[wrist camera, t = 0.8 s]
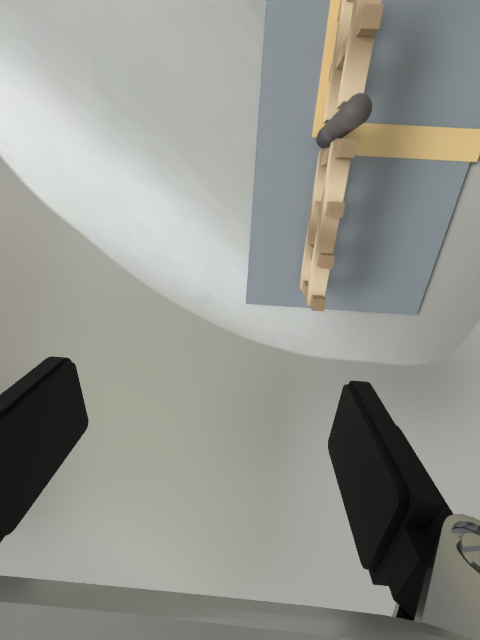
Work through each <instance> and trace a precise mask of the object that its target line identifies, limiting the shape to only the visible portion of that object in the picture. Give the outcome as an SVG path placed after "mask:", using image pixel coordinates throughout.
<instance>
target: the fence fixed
mask: <svg viewBox="0 0 480 640" xmlns="http://www.w3.org/2000/svg"><path fill="white" fill-rule="evenodd" d="M381 1H382V0H341V1H340V6H339V13H338V19H337V21H338V27H337V34H336V41H335V47H334V54H333V61H332V64H331V67H330V74H329V80H328V81H329V88H328V94H327V101H326V108H325V115H324V121H323V124H325V125H324V126H323V128H322V129H321V130H320V131H319V132H318V134H317V137H316V142H317V144H318V146H319V147H320V148H323V149H324V148H328V147H330V145H331V142H333V141H334V140H335V139H337V138H343V137H344V136H346V135H347V134H349V133H350V132H352V131H353V130H354V129H356V128H357V127H359V126H360V125H362V124H363V123H364V122H366V121H367V119H368V118H369V116H370V114H371V111H372V102H371V99H370V97H369V96H368V95H366V94H364V89H365V84H366V79H367V74H368V68H369V63H370V58H371V53H372V48H373V42H374V37H375V34H376V32H377V31H378V30H379V27H380V21H381V16H382V11H383V6H384V4H381Z"/></svg>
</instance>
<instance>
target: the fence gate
mask: <svg viewBox="0 0 480 640" xmlns="http://www.w3.org/2000/svg"><path fill="white" fill-rule="evenodd" d="M357 142H358V140H355V139H342V138H337V139H335V140H334V141H333V142H331V145H330V148H328V149H322V150H320V151H319V155H318V161H317V167H316V175H315V182H314V189H313V195H312V201H311V208H310V215H309V222H308V229H307V236H306V241H305V248H304V256H303V262H302V269H301V276H300V282H299V288H300V290H302V292H303V294H304V296H305V298H306V299H305V300H306V302H307V304H308V306H310V307H311V309H312V310H315V311H324V310H325V305H326V298H325V292H326V287H327V282H328V277H329V271H330V269H333V264H334V259H335V256H334V255H333V250H334V245H335V240H336V235H337V230H338V224H339V219H340V218H343V213H344V208H345V203H346V202H343V198H344V193H345V188H346V183H347V178H348V172H349V167H350V162H351V159H352V158H354V157H355V152H356V147H357Z"/></svg>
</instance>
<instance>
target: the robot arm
mask: <svg viewBox="0 0 480 640" xmlns="http://www.w3.org/2000/svg"><path fill="white" fill-rule="evenodd" d="M87 426H88V416H87V412H86V408H85V404H84V399H83V395H82V391H81V387H80V382H79V378H78V374H77V369H76V366H75V364H74V363H72V362H71V360H70V359H69V358H63V357H48V358H47V359H45V360H44V361H43V362H41V363H40V364H39V365H38V366H36V367H35V368H34V369H33V370H31V371H30V372H29V373H28V374H26V375H25V376H24V377H22V378H21V379H20V380H19V381H17V382H16V383H15V384H14V385H12V386H11V387H10V388H8V389H7V390H6V391H4V392H3V393H2V394H1V395H0V542H1V541H2V540H3V538H4V537H5V536H6V535H8V534H10V533H11V532H12V531H13V530H14V529H15V528H16V527H17V525H18V524H19V522H20V521H21V520H22V518H23V517H24V516H25V514H26V513H27V511H28V510H29V509H30V507H31V506H32V505H33V503H34V502H35V500H36V499H37V498H38V496H39V495H40V493H41V492H42V490H43V489H44V488H45V486H46V485H47V484H48V482H49V481H50V479H51V478H52V477H53V475H54V474H55V473H56V471H57V470H58V468H59V467H60V466H61V464H62V463H63V461H64V460H65V459H66V457H67V456H68V454H69V453H70V452H71V450H72V449H73V448H74V446H75V445H76V443H77V442H78V440H79V439H80V438H81V436H82V435H83V434H84V432H85V431H86V429H87ZM328 449H329V454H330V458H331V461H332V464H333V468H334V471H335V475H336V478H337V482H338V485H339V489H340V492H341V495H342V499H343V503H344V506H345V510H346V513H347V516H348V520H349V524H350V527H351V530H352V534H353V537H354V541H355V544H356V548H357V551H358V555H359V558H360V561H361V564H362V566H363V568H364V569H368V570H369V573H370V576H371V579H372V582H373V584H374V585H384V586H389V588H390V591H391V594H392V597H393V599H394V601H395V602H396V605H395V608H394V612H393V615H392V617H389V616H385V615H377V614H370V613H361V612H354V611H345V610H338V609H329V608H322V607H313V606H305V605H295V604H285V603H276V602H275V603H274V602H266V601H255V600H246V599H237V598H227V597H217V596H207V595H198V594H188V593H177V592H167V591H157V590H146V589H137V588H126V587H116V586H106V585H95V584H85V583H74V582H64V581H53V580H42V579H31V578H20V577H9V576H0V640H480V521H479V520H477V519H475V518H473V517H470V516H467V515H463V514H453V513H452V511H451V510H450V508H449V507H448V505H447V503H446V502H445V500H444V498H443V497H442V495H441V494H440V492H439V490H438V489H437V487H436V486H435V484H434V482H433V481H432V479H431V478H430V476H429V475H428V473H427V471H426V469H425V468H424V466H423V465H422V463H421V461H420V460H419V458H418V457H417V455H416V453H415V452H414V450H413V449H412V447H411V445H410V444H409V442H408V441H407V439H406V437H405V436H404V434H403V433H402V431H401V430H400V428H399V427H398V426H396V425H395V423H394V421H393V420H392V418H391V417H390V415H389V413H388V412H387V410H386V409H385V407H384V405H383V404H382V402H381V400H380V399H379V397H378V395H377V394H376V392H375V390H374V389H373V387H372V386H371V384H370V383H369V382H362V381H350V382H349V384H348V385H344V386H343V389H342V393H341V397H340V400H339V404H338V408H337V412H336V415H335V419H334V422H333V426H332V429H331V433H330V437H329V440H328Z"/></svg>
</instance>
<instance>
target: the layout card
mask: <svg viewBox="0 0 480 640" xmlns="http://www.w3.org/2000/svg"><path fill="white" fill-rule="evenodd" d="M340 1H341V0H266V14H265V29H264V44H263V59H262V74H261V89H260V103H259V118H258V133H257V148H256V163H255V178H254V192H253V207H252V222H251V237H250V252H249V267H248V281H247V296H246V304H261V305H275V306H290V307H305V308H311V307H310V306H308V304H307V302H306V300H305V299H306V298H305V296H304V294H303V292H302V290H300V288H299V282H300V276H301V269H302V262H303V256H304V248H305V241H306V236H307V229H308V222H309V215H310V208H311V201H312V195H313V189H314V182H315V175H316V167H317V161H318V155H319V151H320V150H322V149H323V148H320V147H319V146H318V144H317V142H316V137H317V134H318V132H319V131H320V130H321V129H322V128H323V126H324V125H325V124H323V121H324V115H325V108H326V101H327V94H328V88H329V81H328V80H329V74H330V67H331V64H332V61H333V54H334V47H335V41H336V34H337V27H338V21H337V19H338V13H339V6H340ZM381 4H384V6H383V11H382V16H381V21H380V27H379V30H378V31H377V32H376V34H375V37H374V42H373V48H372V53H371V58H370V63H369V68H368V74H367V79H366V84H365V89H364V94H366V95H368V96H369V97H370V99H371V102H372V111H371V114H370V116H369V118H368V119H367V121H366V122H364V123H363V124H362V125H360V126H359V127H357V128H356V129H354V130H353V131H352V132H350V133H349V134H347V135H346V136H344V137H343V138H342V139H355V140H358V142H357V147H356V152H355V157H354V158H352V159H351V162H350V167H349V172H348V178H347V183H346V188H345V193H344V198H343V202H346V203H345V208H344V213H343V218H340V219H339V224H338V230H337V235H336V240H335V245H334V250H333V255H334V256H335V259H334V264H333V269H330V271H329V277H328V282H327V287H326V292H325V298H326V305H325V309H334V310H348V311H363V312H377V313H392V314H407V315H417V313H418V310H419V307H420V305H421V302H422V299H423V296H424V293H425V290H426V287H427V285H428V282H429V279H430V276H431V273H432V270H433V267H434V265H435V262H436V259H437V256H438V253H439V250H440V247H441V245H442V242H443V239H444V236H445V233H446V230H447V227H448V225H449V222H450V219H451V216H452V213H453V210H454V207H455V205H456V202H457V199H458V196H459V193H460V190H461V187H462V185H463V182H464V179H465V176H466V173H467V170H468V167H469V165H470V162H477V161H478V158H479V155H480V0H382V1H381ZM328 148H330V147H328ZM328 148H324V149H328Z"/></svg>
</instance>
